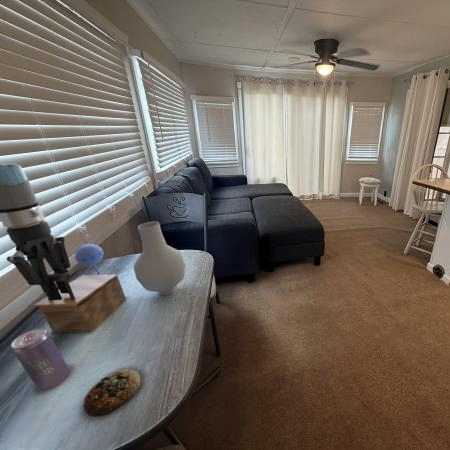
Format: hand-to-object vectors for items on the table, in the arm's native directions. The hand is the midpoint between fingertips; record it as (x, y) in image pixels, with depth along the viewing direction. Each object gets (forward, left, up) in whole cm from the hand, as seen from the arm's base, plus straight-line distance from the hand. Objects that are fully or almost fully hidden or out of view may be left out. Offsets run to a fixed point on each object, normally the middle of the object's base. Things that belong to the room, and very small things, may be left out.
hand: (61, 295), depth 72 cm
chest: (0, +6, -13) cm, 15 cm away
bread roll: (+28, -20, -14) cm, 37 cm away
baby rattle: (-12, +25, -14) cm, 31 cm away
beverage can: (+10, -17, -14) cm, 24 cm away
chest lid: (0, +5, -2) cm, 6 cm away
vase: (+19, +20, -14) cm, 30 cm away
